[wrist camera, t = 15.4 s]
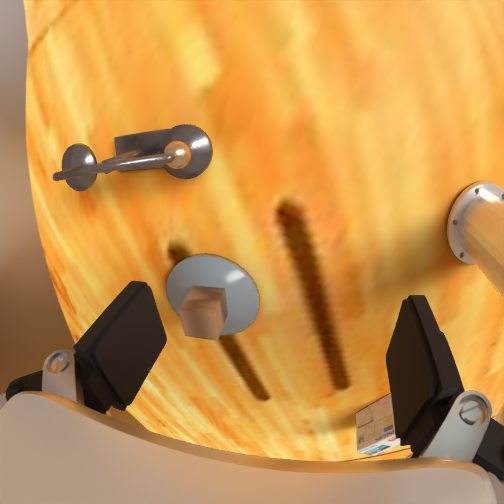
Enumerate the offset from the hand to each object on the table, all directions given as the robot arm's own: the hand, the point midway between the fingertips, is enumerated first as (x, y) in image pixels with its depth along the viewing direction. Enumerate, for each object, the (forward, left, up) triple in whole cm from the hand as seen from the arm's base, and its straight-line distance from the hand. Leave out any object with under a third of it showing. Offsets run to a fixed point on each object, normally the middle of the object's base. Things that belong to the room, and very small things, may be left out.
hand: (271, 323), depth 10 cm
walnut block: (+12, +20, -26) cm, 35 cm away
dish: (+12, +20, -27) cm, 36 cm away
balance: (+18, -3, -27) cm, 33 cm away
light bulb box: (-23, +50, -27) cm, 61 cm away
